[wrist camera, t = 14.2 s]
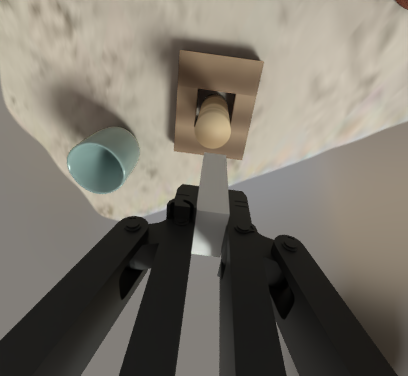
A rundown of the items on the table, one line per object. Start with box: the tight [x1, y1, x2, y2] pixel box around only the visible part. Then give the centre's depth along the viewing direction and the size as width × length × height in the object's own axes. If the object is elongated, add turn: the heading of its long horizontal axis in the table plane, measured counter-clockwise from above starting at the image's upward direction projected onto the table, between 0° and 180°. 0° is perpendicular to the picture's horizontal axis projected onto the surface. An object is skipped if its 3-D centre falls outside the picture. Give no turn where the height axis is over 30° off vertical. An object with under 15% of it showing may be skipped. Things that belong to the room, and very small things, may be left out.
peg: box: [195, 94, 231, 149], centre depth 31 cm, size 4×4×12 cm
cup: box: [67, 126, 140, 194], centre depth 36 cm, size 8×8×10 cm
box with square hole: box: [174, 50, 264, 160], centre depth 35 cm, size 14×11×2 cm
